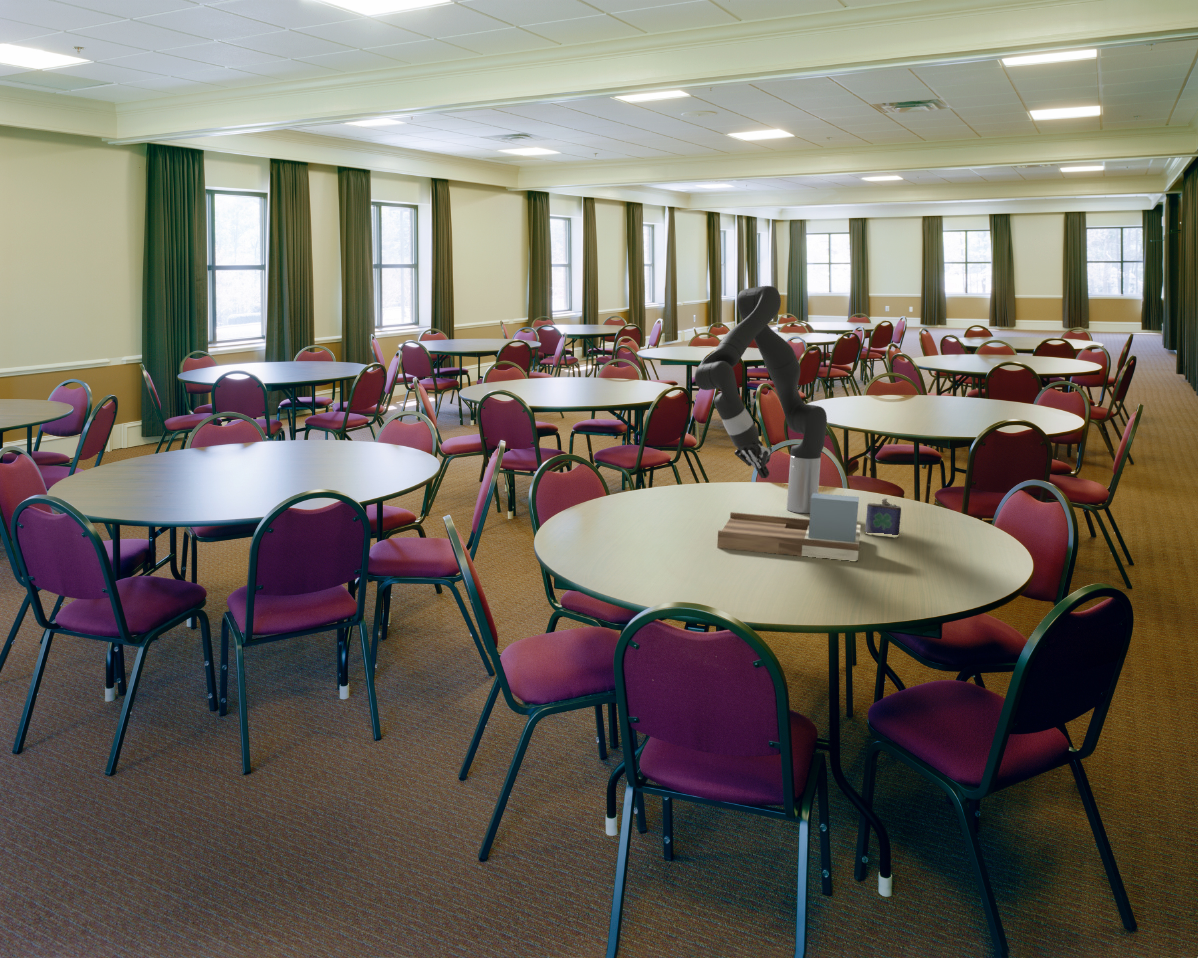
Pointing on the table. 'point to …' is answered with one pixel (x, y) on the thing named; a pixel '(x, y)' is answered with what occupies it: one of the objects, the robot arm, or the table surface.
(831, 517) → the block
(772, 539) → the board
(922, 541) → the table surface
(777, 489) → the table surface
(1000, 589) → the table surface
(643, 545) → the table surface
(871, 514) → the flask
